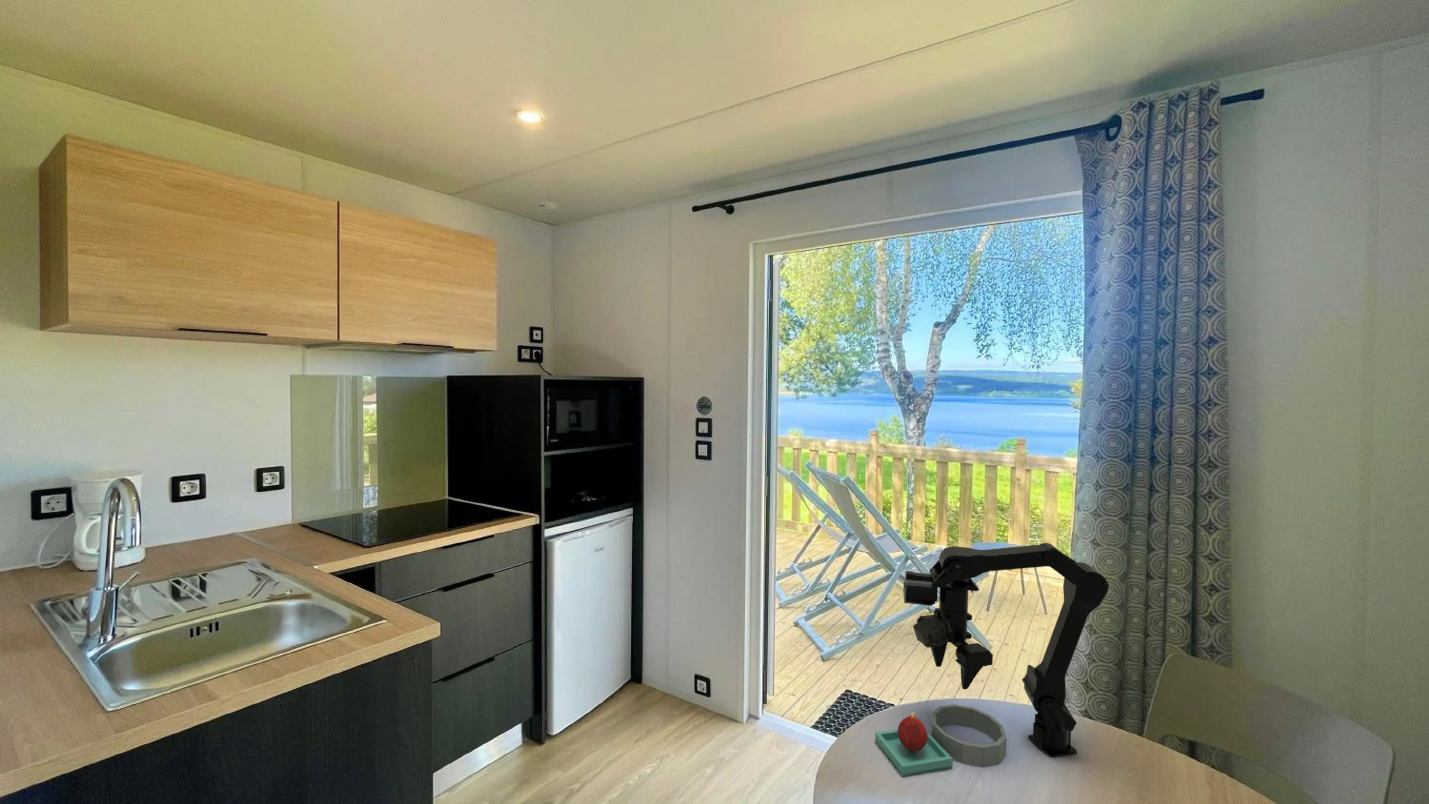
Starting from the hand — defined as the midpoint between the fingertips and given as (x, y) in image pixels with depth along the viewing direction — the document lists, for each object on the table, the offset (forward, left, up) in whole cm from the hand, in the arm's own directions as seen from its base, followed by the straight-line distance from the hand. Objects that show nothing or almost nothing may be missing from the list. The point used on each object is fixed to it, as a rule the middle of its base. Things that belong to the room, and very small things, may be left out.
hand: (951, 677), depth 123 cm
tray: (+12, +6, -12) cm, 18 cm away
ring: (-1, +5, -12) cm, 13 cm away
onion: (+12, +5, -12) cm, 18 cm away
